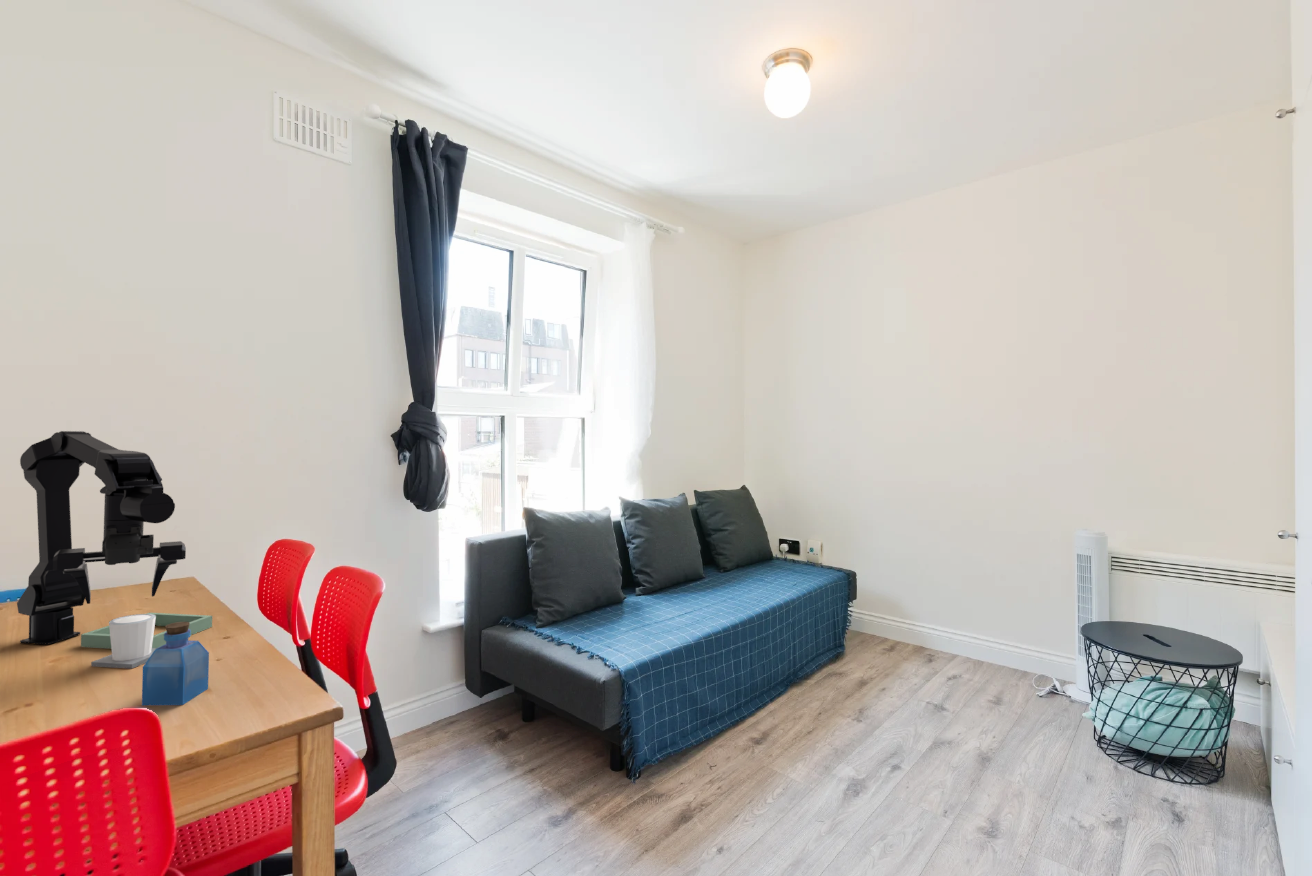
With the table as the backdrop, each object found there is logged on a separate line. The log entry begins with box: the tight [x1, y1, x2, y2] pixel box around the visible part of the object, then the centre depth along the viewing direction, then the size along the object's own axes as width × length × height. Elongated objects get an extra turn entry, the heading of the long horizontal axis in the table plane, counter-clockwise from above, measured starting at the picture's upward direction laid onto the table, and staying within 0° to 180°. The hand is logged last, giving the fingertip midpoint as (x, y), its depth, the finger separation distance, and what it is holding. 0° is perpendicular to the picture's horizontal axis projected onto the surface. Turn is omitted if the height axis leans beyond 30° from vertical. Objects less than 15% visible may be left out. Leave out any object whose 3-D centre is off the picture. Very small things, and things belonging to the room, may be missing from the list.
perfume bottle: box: [141, 622, 210, 706], centre depth 100 cm, size 6×6×12 cm
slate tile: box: [90, 648, 157, 669], centre depth 115 cm, size 8×8×1 cm
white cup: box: [108, 613, 156, 661], centre depth 115 cm, size 7×7×7 cm
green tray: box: [80, 612, 213, 650], centre depth 128 cm, size 15×15×2 cm
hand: (121, 599), depth 116 cm, fingers open, 9 cm apart
